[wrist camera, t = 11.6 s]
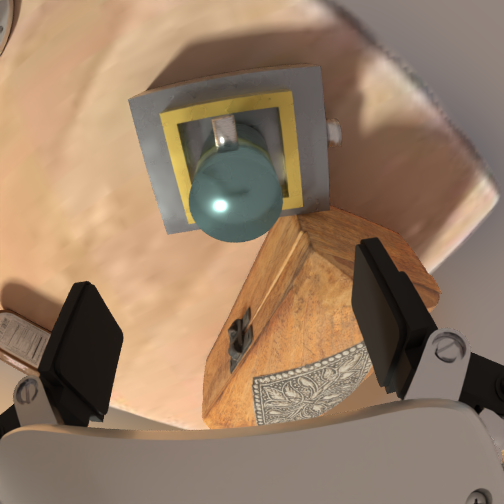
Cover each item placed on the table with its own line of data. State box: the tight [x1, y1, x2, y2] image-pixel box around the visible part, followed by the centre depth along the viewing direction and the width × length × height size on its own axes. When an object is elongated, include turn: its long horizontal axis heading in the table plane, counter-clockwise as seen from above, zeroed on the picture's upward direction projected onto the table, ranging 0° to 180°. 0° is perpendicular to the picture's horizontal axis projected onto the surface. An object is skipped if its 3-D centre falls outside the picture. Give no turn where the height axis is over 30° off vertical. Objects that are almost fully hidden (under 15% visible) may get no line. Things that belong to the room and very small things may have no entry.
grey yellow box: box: [128, 63, 342, 234], centre depth 25 cm, size 12×16×6 cm
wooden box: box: [202, 205, 442, 429], centre depth 35 cm, size 30×16×14 cm, turn 158°
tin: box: [0, 310, 51, 378], centre depth 38 cm, size 15×3×8 cm, turn 55°
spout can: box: [189, 115, 283, 242], centre depth 20 cm, size 7×5×8 cm
